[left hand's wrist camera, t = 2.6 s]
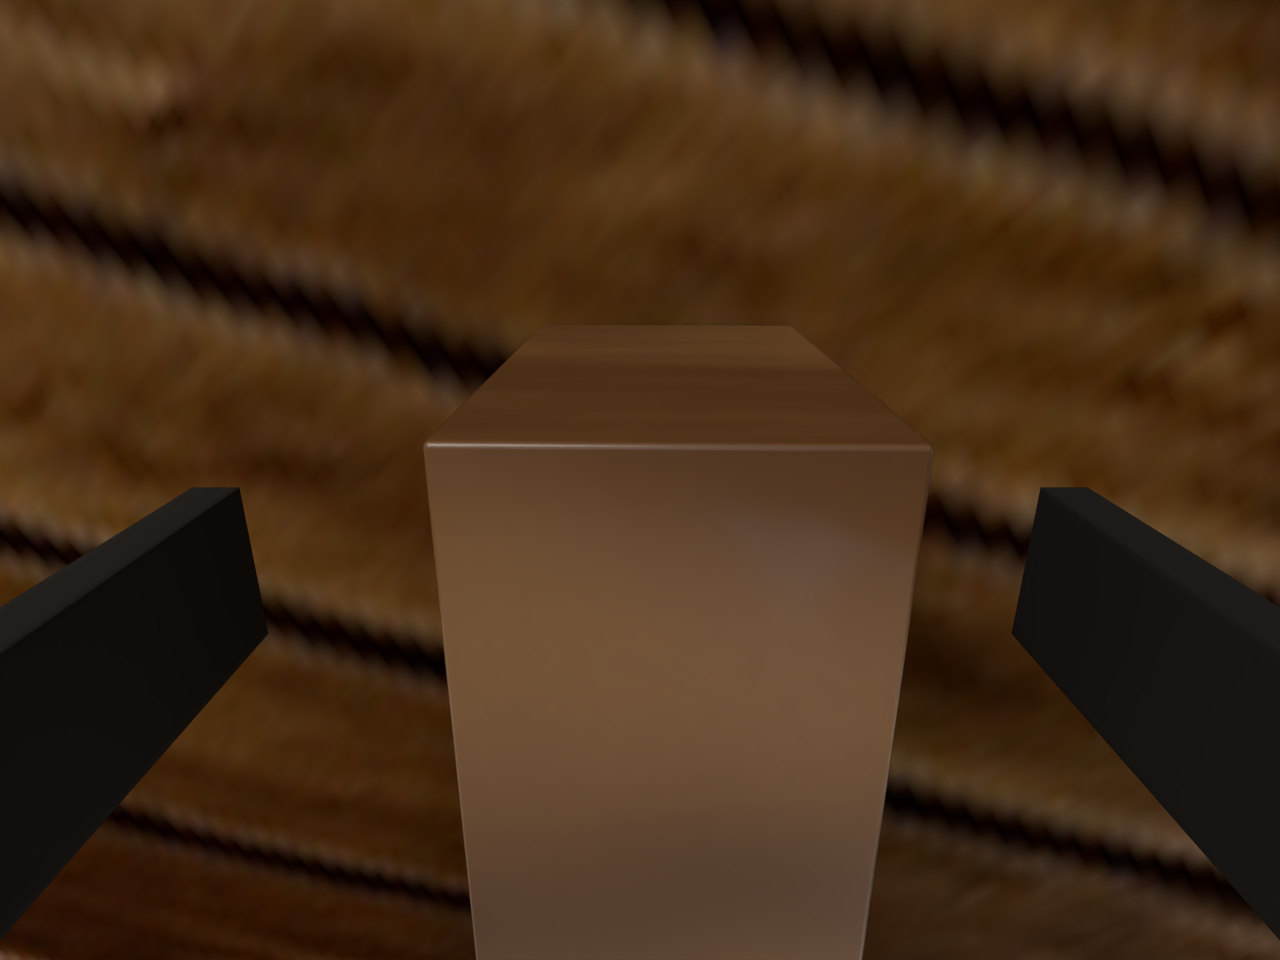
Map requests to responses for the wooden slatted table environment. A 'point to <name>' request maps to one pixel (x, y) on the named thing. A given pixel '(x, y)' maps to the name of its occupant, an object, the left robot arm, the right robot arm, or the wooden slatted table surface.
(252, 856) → the wooden slatted table surface
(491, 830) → the bar
